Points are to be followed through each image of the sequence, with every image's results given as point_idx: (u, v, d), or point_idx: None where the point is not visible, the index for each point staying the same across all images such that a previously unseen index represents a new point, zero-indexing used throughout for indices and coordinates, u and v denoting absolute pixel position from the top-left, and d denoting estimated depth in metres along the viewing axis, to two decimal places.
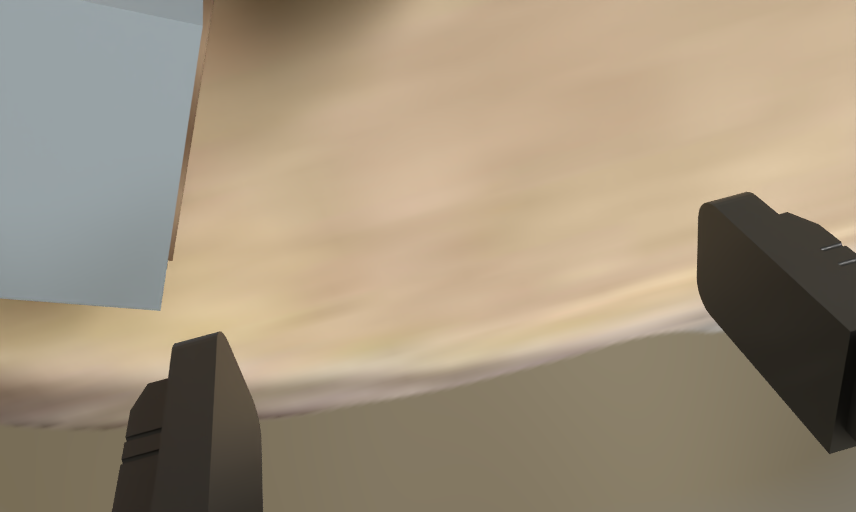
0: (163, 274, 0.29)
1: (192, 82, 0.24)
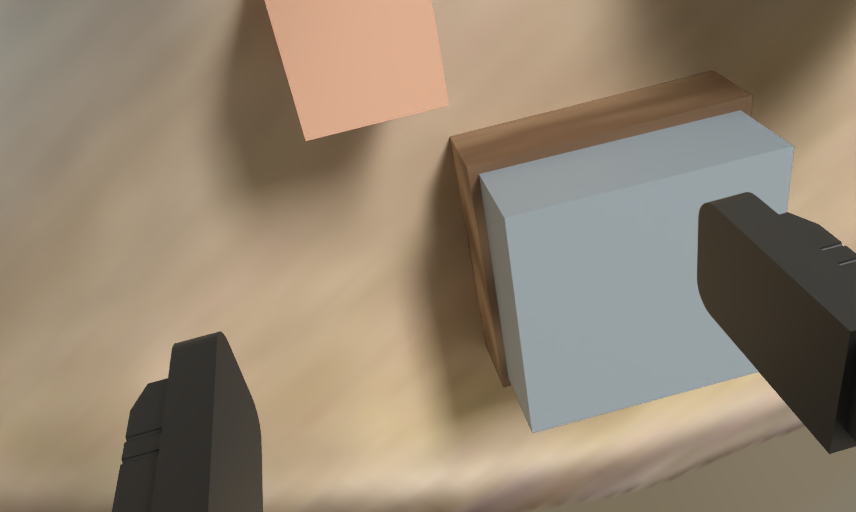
0: None
1: (787, 188, 0.31)
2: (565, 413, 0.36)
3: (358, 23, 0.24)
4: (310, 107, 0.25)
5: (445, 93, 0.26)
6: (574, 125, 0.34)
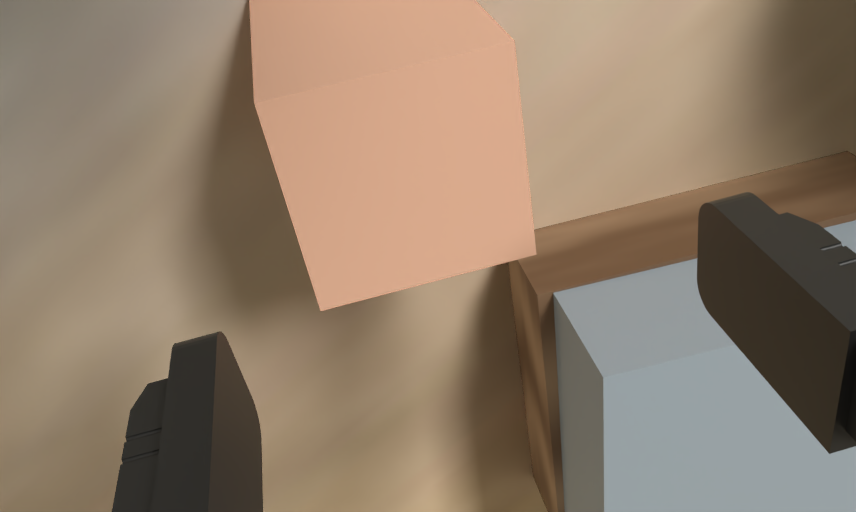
0: None
1: None
2: None
3: (407, 147, 0.15)
4: (328, 265, 0.16)
5: (532, 239, 0.17)
6: (676, 231, 0.25)
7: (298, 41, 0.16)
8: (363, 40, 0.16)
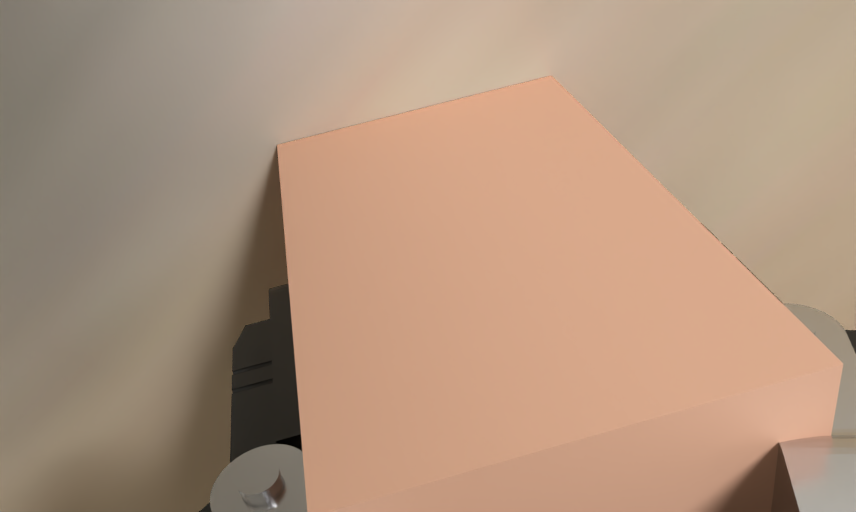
0: None
1: None
2: None
3: None
4: None
5: None
6: None
7: (376, 295, 0.09)
8: (504, 312, 0.08)
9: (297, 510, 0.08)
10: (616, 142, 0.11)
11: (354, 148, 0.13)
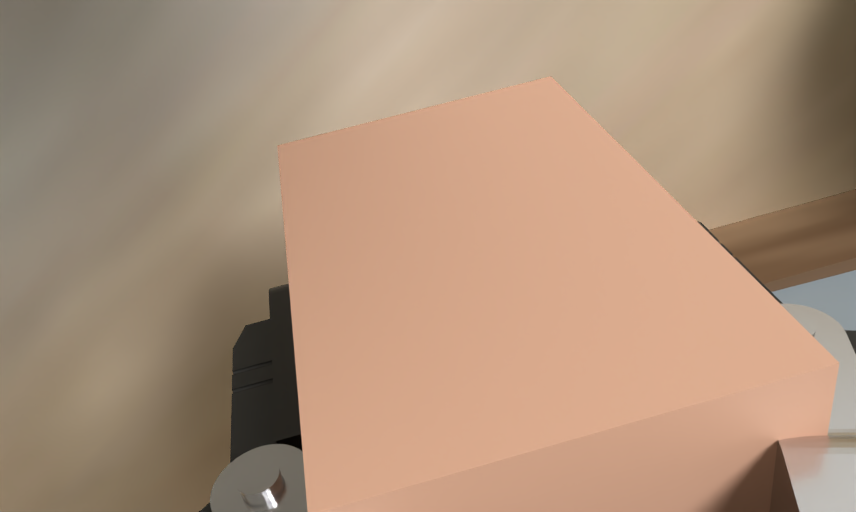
0: None
1: None
2: None
3: None
4: None
5: None
6: None
7: (376, 295, 0.09)
8: (502, 311, 0.08)
9: (297, 510, 0.08)
10: (615, 143, 0.11)
11: (354, 149, 0.13)
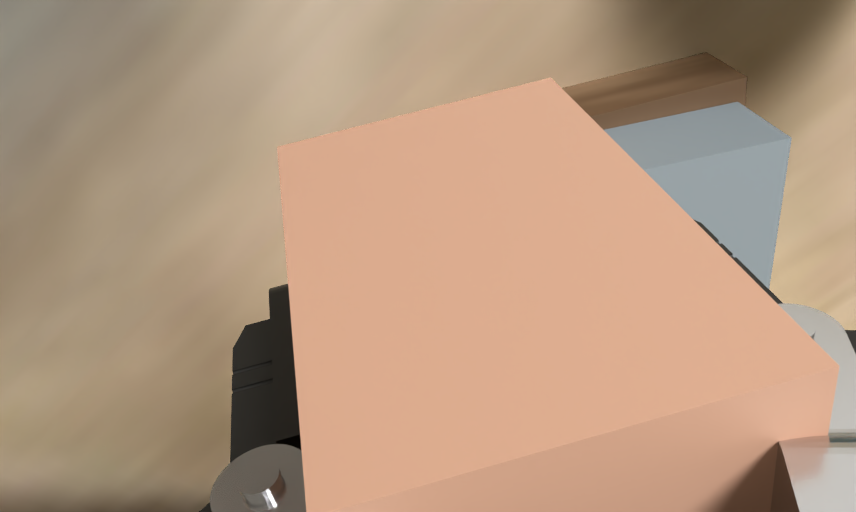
0: None
1: (783, 181, 0.31)
2: None
3: None
4: None
5: None
6: None
7: (375, 296, 0.09)
8: (501, 313, 0.08)
9: (297, 510, 0.08)
10: (615, 144, 0.11)
11: (354, 150, 0.13)
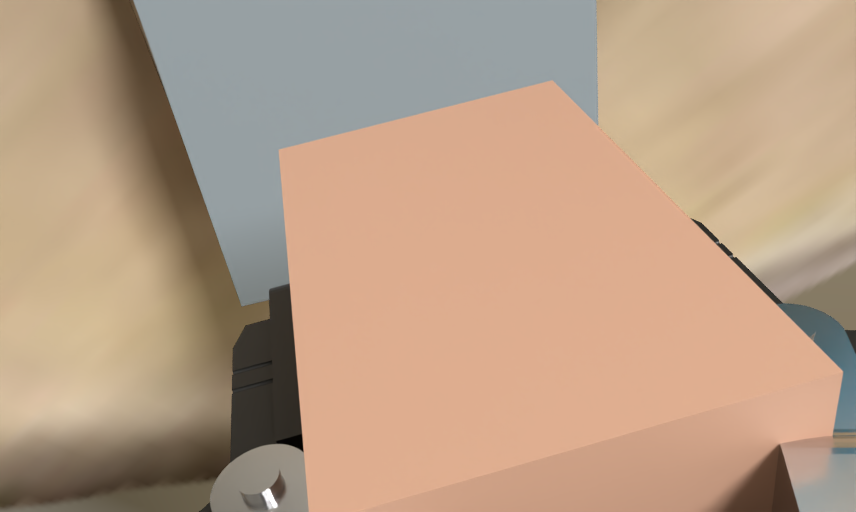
0: None
1: None
2: None
3: None
4: None
5: None
6: None
7: (377, 301, 0.09)
8: (504, 318, 0.08)
9: (297, 510, 0.08)
10: (617, 147, 0.11)
11: (355, 153, 0.13)
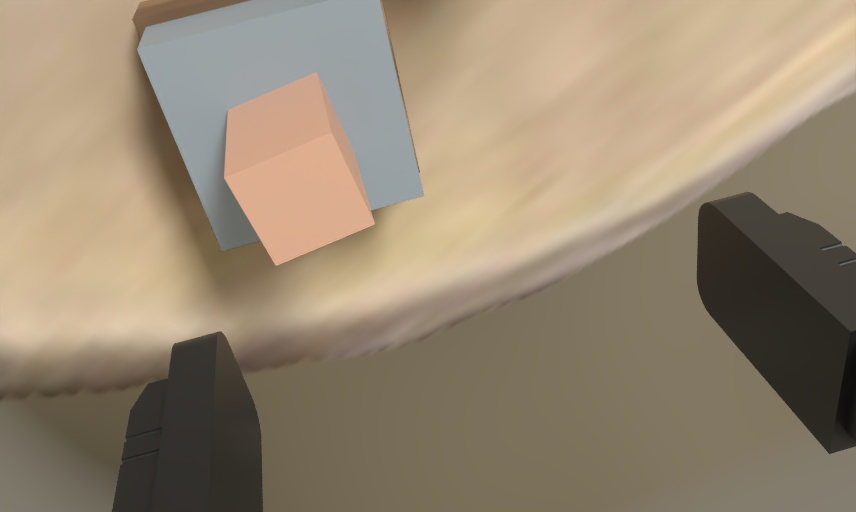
0: (416, 167, 0.43)
1: (384, 27, 0.39)
2: (247, 233, 0.43)
3: (296, 185, 0.33)
4: (274, 243, 0.35)
5: (370, 217, 0.35)
6: None
7: (246, 141, 0.35)
8: (273, 138, 0.34)
9: None
10: (320, 92, 0.37)
11: (250, 106, 0.38)
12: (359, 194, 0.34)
